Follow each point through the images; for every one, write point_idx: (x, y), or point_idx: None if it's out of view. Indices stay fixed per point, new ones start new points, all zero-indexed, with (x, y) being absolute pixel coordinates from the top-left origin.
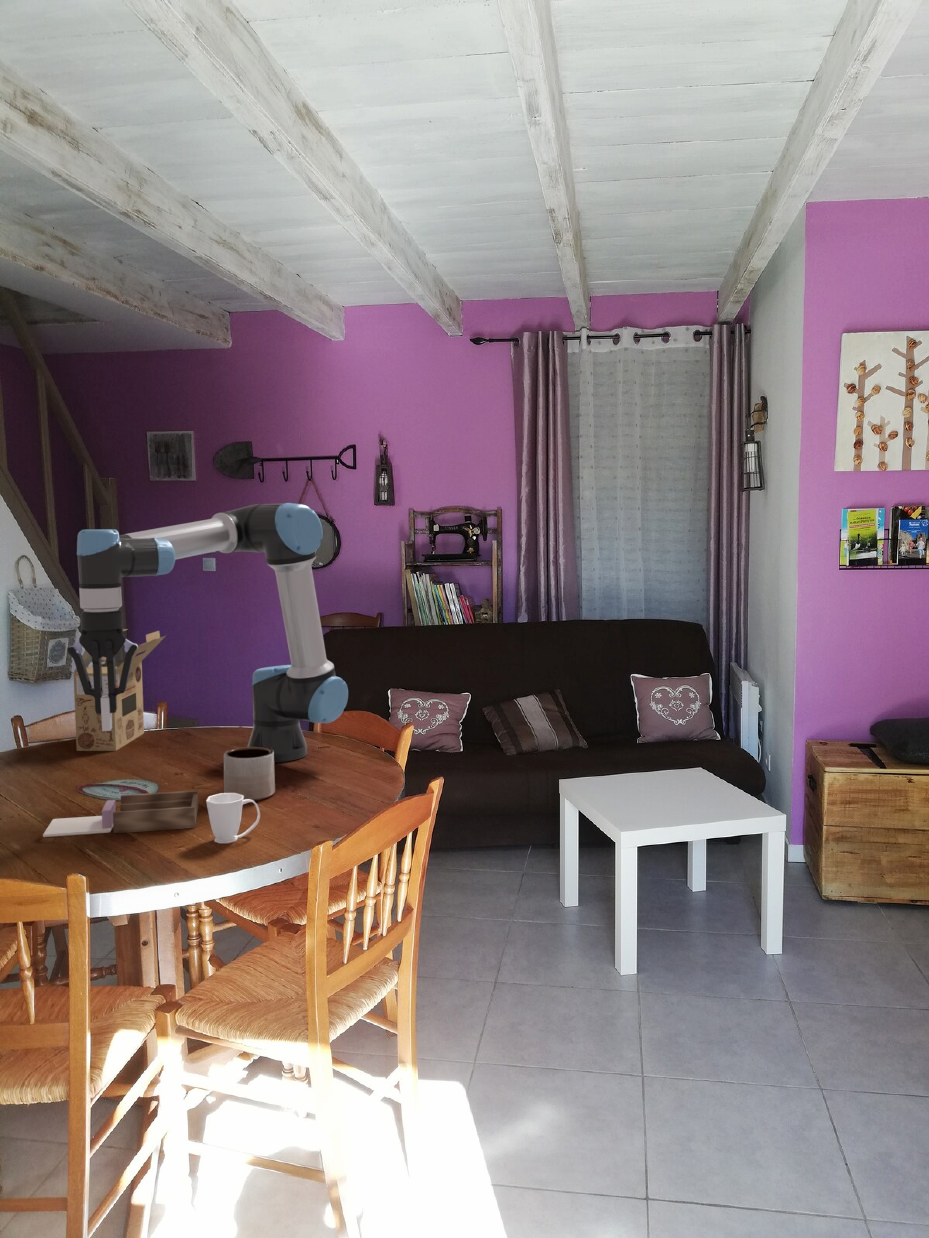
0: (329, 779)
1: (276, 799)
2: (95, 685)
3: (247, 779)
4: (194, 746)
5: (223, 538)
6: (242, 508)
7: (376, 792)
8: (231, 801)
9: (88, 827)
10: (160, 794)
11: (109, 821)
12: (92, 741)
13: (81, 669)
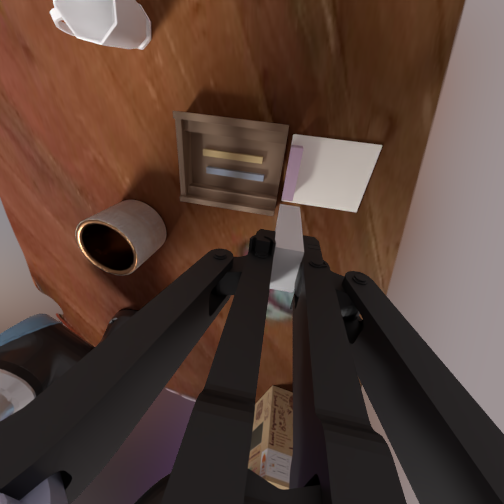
0: (74, 245)
1: (110, 197)
2: (328, 291)
3: (120, 208)
4: None
5: None
6: None
7: (9, 182)
8: (92, 37)
9: (319, 157)
10: (225, 202)
11: (293, 145)
12: (290, 400)
13: (442, 395)
